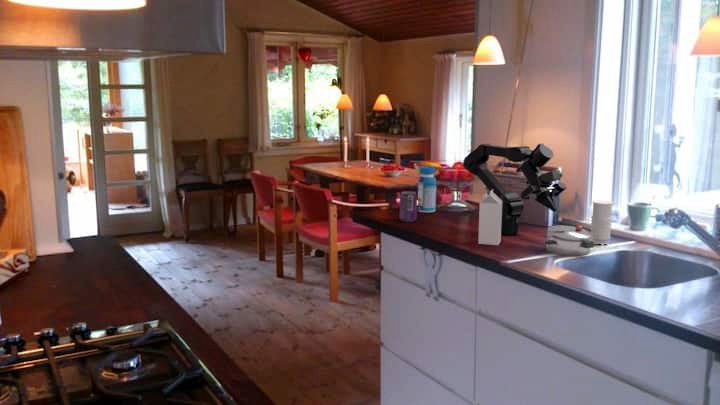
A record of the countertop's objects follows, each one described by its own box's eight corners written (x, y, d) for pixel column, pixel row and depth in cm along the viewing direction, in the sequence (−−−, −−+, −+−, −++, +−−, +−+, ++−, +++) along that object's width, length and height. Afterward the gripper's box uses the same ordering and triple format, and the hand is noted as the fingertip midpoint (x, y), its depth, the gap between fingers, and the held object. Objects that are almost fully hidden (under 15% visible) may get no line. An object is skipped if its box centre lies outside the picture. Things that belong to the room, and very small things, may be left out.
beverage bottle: (430, 213, 285) (431, 168, 281) (413, 211, 289) (414, 167, 286) (439, 210, 292) (440, 166, 288) (422, 208, 296) (423, 165, 293)
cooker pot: (531, 249, 221) (532, 235, 220) (572, 243, 230) (573, 229, 229) (567, 260, 207) (568, 245, 206) (610, 253, 216) (611, 238, 216)
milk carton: (500, 241, 233) (502, 189, 229) (498, 245, 226) (500, 192, 223) (481, 239, 235) (482, 188, 232) (478, 244, 228) (479, 191, 225)
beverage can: (419, 220, 270) (420, 192, 268) (411, 223, 264) (412, 194, 262) (404, 218, 274) (405, 190, 272) (396, 221, 268) (396, 192, 266)
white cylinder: (585, 241, 232) (588, 201, 230) (600, 240, 235) (603, 199, 232) (598, 246, 226) (601, 204, 224) (614, 244, 229) (617, 203, 226)
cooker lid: (538, 230, 221) (538, 223, 220) (567, 226, 228) (568, 219, 227) (570, 243, 209) (571, 236, 208) (600, 238, 216) (601, 231, 215)
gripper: (530, 162, 220) (552, 199, 214) (564, 160, 231) (587, 196, 224) (510, 181, 228) (532, 218, 221) (545, 179, 239) (566, 213, 232)
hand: (555, 211), depth 224 cm, fingers closed
